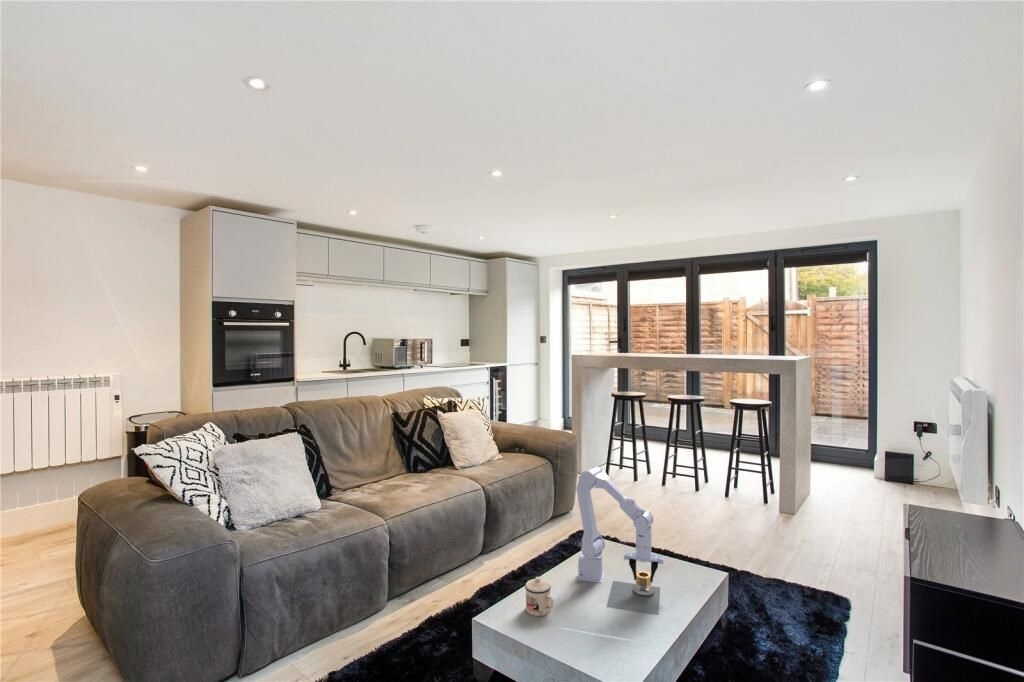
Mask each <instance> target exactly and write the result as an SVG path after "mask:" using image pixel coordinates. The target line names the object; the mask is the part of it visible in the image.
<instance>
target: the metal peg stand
mask: <svg viewBox="0 0 1024 682" xmlns="http://www.w3.org/2000/svg"><path fill="white" fill-rule="evenodd" d="M634 584H635V585H633V592H634V593H635V594H636V595H638V596H642V597H650V596H652V595H654V587H655V586H654V587H653V585H650V586H647V587H644V586H639V585H638V584H636V583H634Z"/></svg>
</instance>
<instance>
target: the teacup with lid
mask: <svg viewBox="0 0 1024 682" xmlns="http://www.w3.org/2000/svg"><path fill="white" fill-rule="evenodd" d="M551 586H552V585H551V584H550V582H549V581H548V580H546V579H544V578H543V579H542V578H541V577H540V576H536V577H535V578H533V579H532V578H531V579H529V580H527V582H526V583H525V586H524V588H525V610H526V612H527V613H528V614H529V615H530V616H535V617H542V616H546V615H548V614H549V613H550V611H551V610H552V609H553V608H554V605H555V601H554V598H553V597H552V595H551V588H552V587H551Z"/></svg>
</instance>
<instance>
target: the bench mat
mask: <svg viewBox="0 0 1024 682" xmlns="http://www.w3.org/2000/svg"><path fill="white" fill-rule="evenodd" d="M635 584H636V583H632V582H625V581H618V580H612V583H611V588H610V591H609V596H608V599H607V603H606V608H610V609H615V610H616V609H617V610H623V611H629V612H637V613H643V614H649V615H655V616H659V615H660V613H659V612H660V599H661V587H660V586H653V585H652V586H653V587H654V595H652V596H650V597H642V596H638V595H636V594H635V593H634V592H633V585H635Z"/></svg>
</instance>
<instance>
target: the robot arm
mask: <svg viewBox="0 0 1024 682" xmlns="http://www.w3.org/2000/svg"><path fill="white" fill-rule="evenodd" d="M577 478H578V482H577V485H576V488H575V489H576V495H577V501H578V505H579V506H578V508H579V511H580V512H579V514H580V518H581V524H582V529H583V530H582V531H583V535H582V538H581V548H580V550H581V553H580V554H579V556H578V560H577V562H578V563H577V564H578V566H577V568H578V569H577V572H578V574H577V576H578V577H577V580H579V581H586V582H592V583H598V584H599V583H600V584H602V583H603V582H604V581H603V580H604V576H605V573H604V572H603V551H604V549H605V547H606V543H605V540H604V539H603V537H602V533H601V532H600V531H599V530H598V526H597V521H596V516H595V511H594V510H595V509H594V503H593V499H592V493H591V491H592V489H601V490H604V491H605V492H607V493H608V494H609V495H610V496H611V497H612V498H613V499H614V500H616V502H618V503H619V508H620V509H621V510H622V511H623V512H624V513H625V514H626V515H627V516H628V517H629V518H630V520H631V521H633V522H632V523H633V526H634V528H635V552H624V553H623V560H625V561H627V560H628V565H629V567H630V569H631V573H632V575H633V578H634V579H633V580H634V581H636V572H637V561H638V562H640V563H650V574H651V583H653V582H654V581H653V580H654V577H655V573H656V572H657V569H658V568H659V564H660V565H664V561H665V560H664V559H665V558H664V557H662V556H657V555H654V554H652V525H653V523H654V516H653V514H652V513H651V512H650V511H648V510H645V509H644V508H642V507H641V506H640V505H639V504H638V503H637V502H636V499H635V498H632V497H630V496H626V495H624V493H623V492H622V491H621V490H620V489H619V488H618V486H617V485H616V484H615V483H613V481H612V480H611V478H610V477H609V476H608V474H607V472H605V471H604V470H603V469H602V468H601V467H600V466H597V465H595V466H592V467H591V468H589V469H587V470H584V471H582V473H581V474H580V475H579V476H578V477H577Z"/></svg>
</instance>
